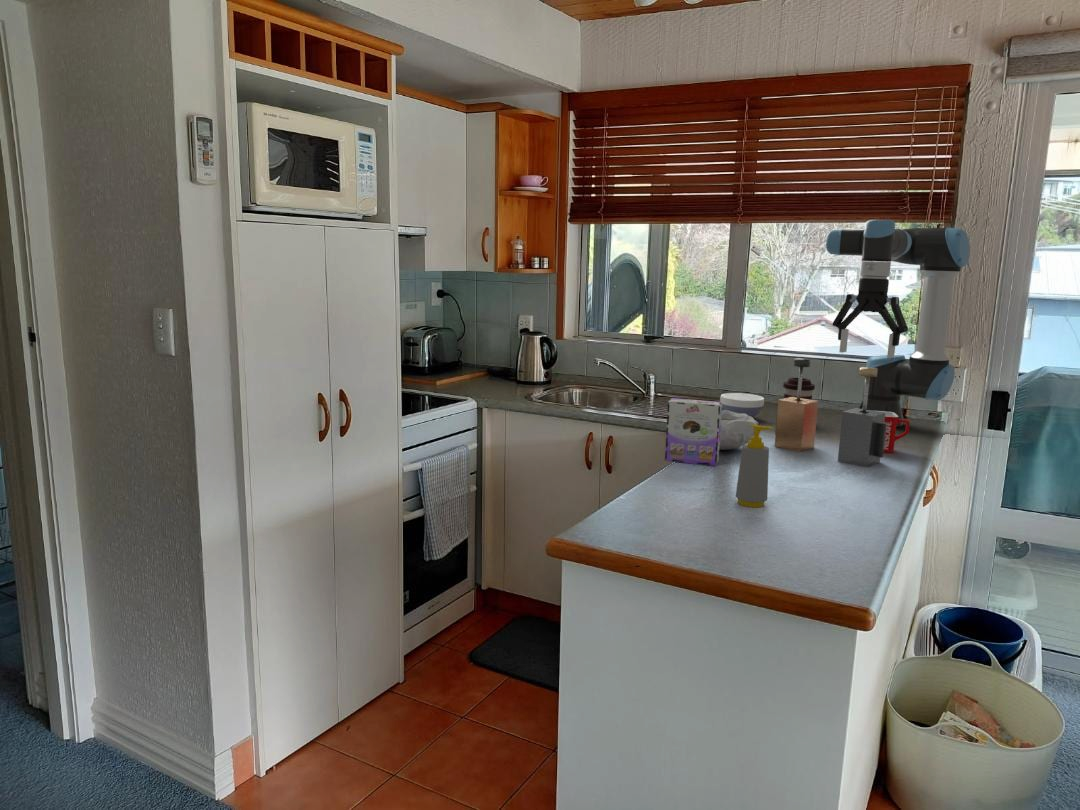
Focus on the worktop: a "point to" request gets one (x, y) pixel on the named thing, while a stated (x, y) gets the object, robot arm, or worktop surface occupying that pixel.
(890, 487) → the worktop surface
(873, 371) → the beige t-shaped piece
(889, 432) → the mug
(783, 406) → the tall wooden block
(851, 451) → the grey block
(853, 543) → the worktop surface
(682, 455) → the candy box
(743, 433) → the white crumpled bag
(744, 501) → the soap bottle
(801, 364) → the grey t-shaped piece
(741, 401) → the bowl
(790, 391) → the coffee cup
